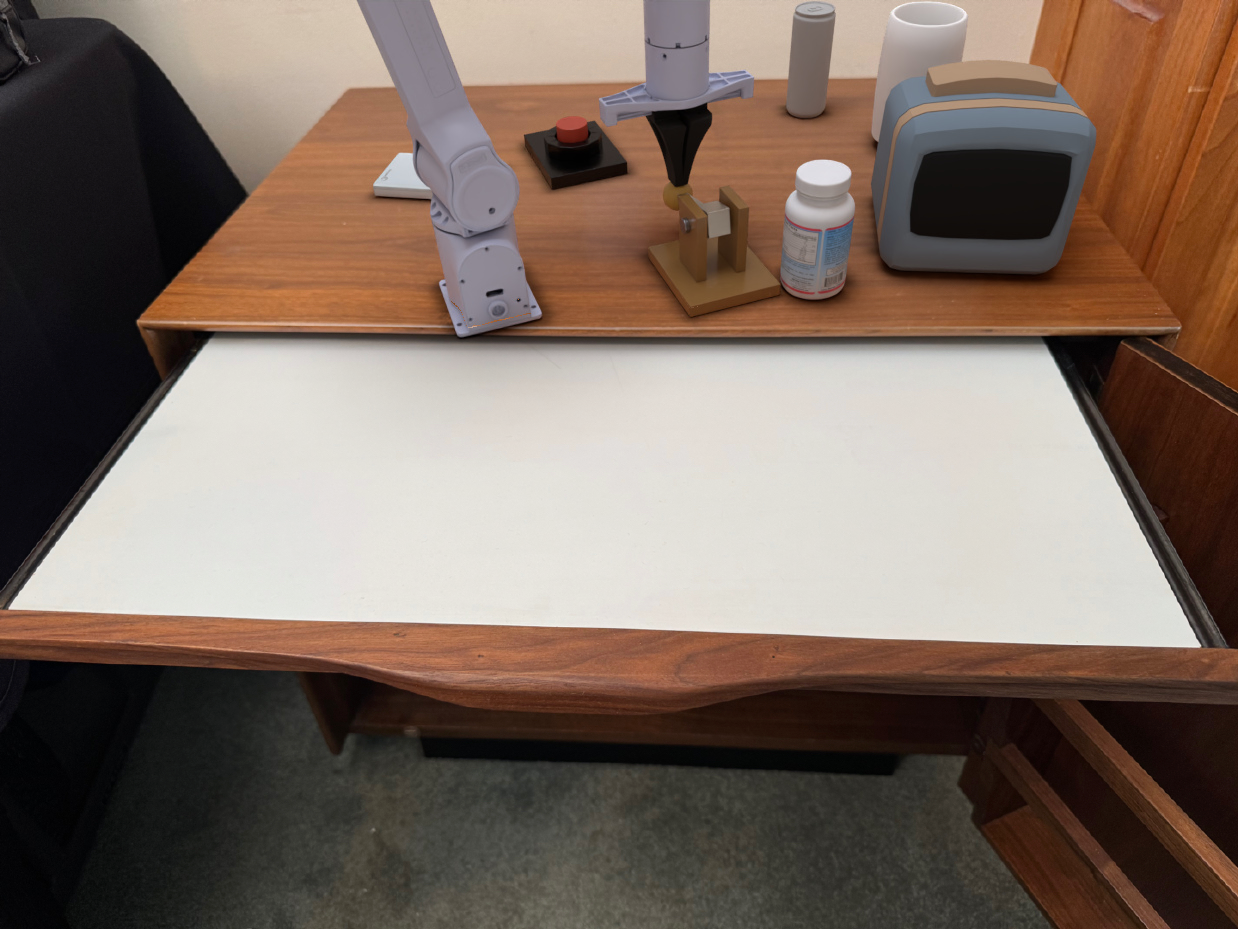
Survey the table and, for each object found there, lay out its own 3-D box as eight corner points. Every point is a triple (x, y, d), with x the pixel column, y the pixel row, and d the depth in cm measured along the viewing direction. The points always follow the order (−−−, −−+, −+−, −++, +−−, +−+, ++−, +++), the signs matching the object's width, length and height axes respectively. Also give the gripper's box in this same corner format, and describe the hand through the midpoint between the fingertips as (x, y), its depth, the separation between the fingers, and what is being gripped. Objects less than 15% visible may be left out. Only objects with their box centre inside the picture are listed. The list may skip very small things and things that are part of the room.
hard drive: (371, 184, 98) (476, 190, 96) (399, 150, 104) (499, 155, 102) (375, 197, 99) (479, 203, 97) (403, 164, 105) (501, 168, 103)
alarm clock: (876, 277, 83) (907, 110, 72) (866, 192, 94) (891, 37, 83) (1060, 283, 81) (1120, 112, 70) (1026, 195, 92) (1074, 36, 81)
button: (592, 140, 101) (591, 125, 100) (562, 146, 100) (560, 131, 99) (583, 128, 103) (581, 113, 102) (553, 134, 102) (552, 119, 101)
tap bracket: (648, 257, 88) (645, 184, 82) (731, 237, 89) (734, 165, 84) (690, 317, 80) (690, 241, 75) (779, 294, 82) (786, 219, 76)
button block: (627, 173, 100) (626, 148, 98) (552, 189, 99) (549, 164, 96) (595, 131, 108) (593, 107, 106) (525, 145, 107) (521, 121, 105)
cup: (854, 135, 104) (872, 6, 94) (919, 123, 105) (944, -5, 95) (888, 166, 98) (912, 32, 88) (957, 154, 99) (987, 20, 89)
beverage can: (778, 108, 110) (785, 5, 102) (810, 99, 112) (820, -3, 103) (799, 122, 107) (809, 17, 99) (832, 113, 108) (845, 9, 100)
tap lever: (659, 209, 90) (657, 179, 88) (687, 202, 90) (685, 173, 88) (705, 243, 80) (702, 210, 78) (735, 236, 80) (733, 203, 79)
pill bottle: (836, 263, 85) (852, 152, 77) (850, 300, 81) (868, 186, 73) (773, 268, 85) (782, 157, 77) (784, 304, 81) (795, 191, 73)
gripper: (733, 8, 81) (729, 149, 91) (584, 36, 78) (595, 178, 88) (767, 33, 76) (758, 179, 86) (609, 63, 74) (618, 210, 83)
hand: (677, 181), depth 87 cm, fingers closed
